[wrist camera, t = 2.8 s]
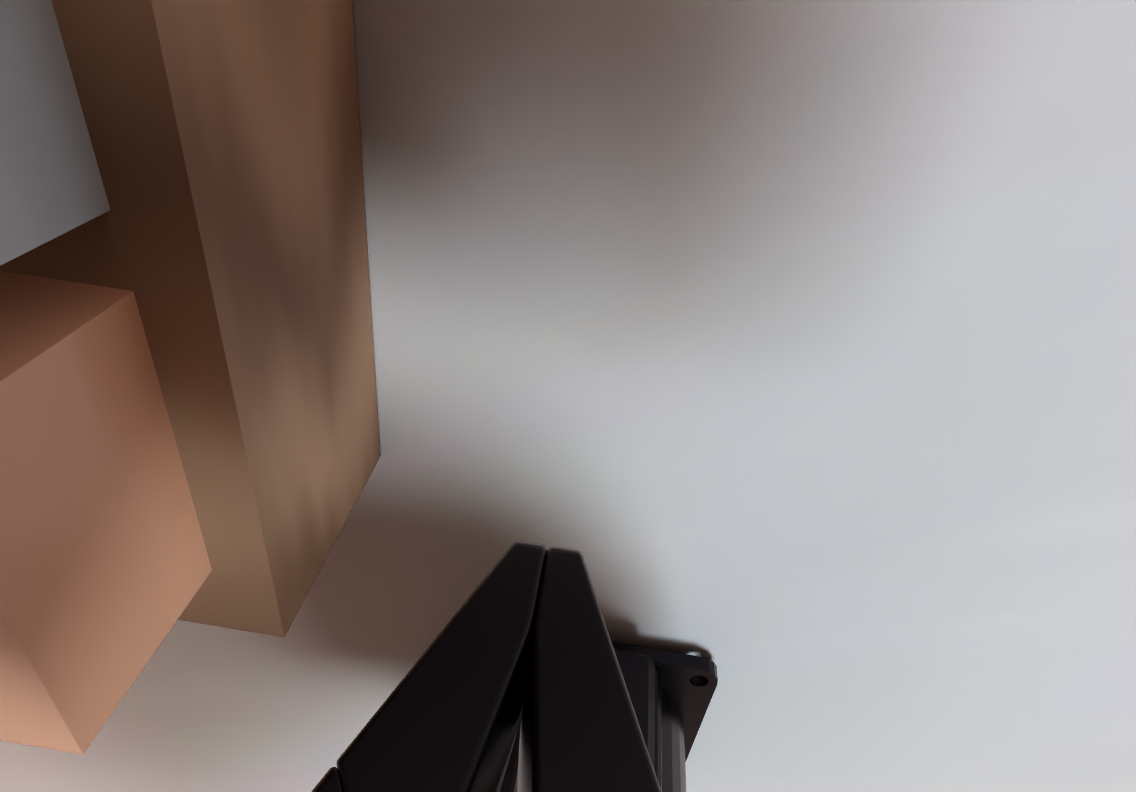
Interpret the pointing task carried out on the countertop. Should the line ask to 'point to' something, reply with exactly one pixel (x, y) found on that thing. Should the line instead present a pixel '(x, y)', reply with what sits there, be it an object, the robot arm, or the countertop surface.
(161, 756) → the countertop surface
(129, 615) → the peach square prism
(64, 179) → the pale grey squat block
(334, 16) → the walnut block
